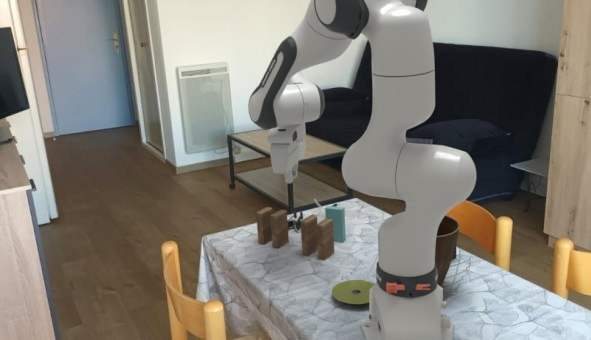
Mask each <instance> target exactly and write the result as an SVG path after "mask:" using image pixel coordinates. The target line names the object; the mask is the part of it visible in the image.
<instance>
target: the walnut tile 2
mask: <svg viewBox="0 0 591 340" xmlns="http://www.w3.org/2000/svg"><path fill="white" fill-rule="evenodd" d="M270 216H271V230H272V243H271V244H272V248H275V249H280V248H282V247H283V246H285V245H287V244H288V243H290V241H289V239H290V238H289V229H288V220H289V219H288V210H287V209H286V210H285V209H280V210H278V211H275V212H273V214H272V215H270Z"/></svg>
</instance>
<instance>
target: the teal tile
mask: <svg viewBox="0 0 591 340" xmlns="http://www.w3.org/2000/svg"><path fill="white" fill-rule="evenodd" d="M324 211H325V216H326V218H328V219H333V232H334V243H335V242H336V243H341V244H343V243H344V242H346V239H347V238H346V213H345V212H346V210H345V207H343V206H336V207H335V206H332V205H327V206H326V207H325V210H324Z"/></svg>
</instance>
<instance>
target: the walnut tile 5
mask: <svg viewBox="0 0 591 340" xmlns="http://www.w3.org/2000/svg"><path fill="white" fill-rule="evenodd" d="M316 225H317V246H318V250H317V259H318V260H321V261H326V260H327V259H328V258H330V257H331V256H333V255H334V254H335V241H334V232H333V219H328V218H326V219H325V220H323V221H321V222H320V223H318V224H316Z"/></svg>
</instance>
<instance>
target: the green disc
mask: <svg viewBox="0 0 591 340" xmlns="http://www.w3.org/2000/svg"><path fill="white" fill-rule="evenodd" d="M375 284H376V283H374V282H372V281H368V280H361V279H349V280H344V281H342V282H339V283H337V284H335V285H333V287H332V289H331V295H332V297H334V299H335V300H336V301H339V302H342V303H346V304H350V305H351V304H352V305H363V304H368V303H369V293H370V289H371V288H372V287H373V286H374V285H375Z"/></svg>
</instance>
